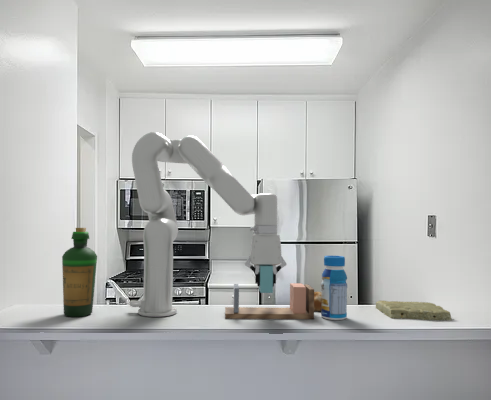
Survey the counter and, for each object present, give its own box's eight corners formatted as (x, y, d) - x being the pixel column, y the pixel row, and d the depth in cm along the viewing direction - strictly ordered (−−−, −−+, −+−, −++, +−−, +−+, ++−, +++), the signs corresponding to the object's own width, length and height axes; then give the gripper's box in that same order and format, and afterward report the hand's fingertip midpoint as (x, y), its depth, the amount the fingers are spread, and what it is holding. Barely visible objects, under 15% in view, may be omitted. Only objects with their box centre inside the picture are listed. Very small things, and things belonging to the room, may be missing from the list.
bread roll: (326, 323, 150) (336, 302, 150) (299, 308, 152) (309, 288, 152) (325, 316, 160) (335, 297, 160) (300, 303, 162) (310, 284, 161)
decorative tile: (375, 308, 160) (375, 299, 160) (430, 310, 159) (430, 300, 159) (390, 320, 141) (390, 309, 141) (453, 322, 141) (453, 311, 141)
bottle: (52, 317, 136) (55, 227, 137) (73, 310, 147) (76, 227, 148) (82, 319, 134) (85, 228, 135) (101, 312, 144) (104, 227, 145)
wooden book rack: (225, 318, 138) (225, 288, 139) (225, 311, 148) (225, 283, 149) (313, 319, 140) (314, 289, 140) (308, 312, 150) (308, 284, 150)
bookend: (233, 312, 139) (234, 288, 139) (233, 306, 148) (233, 283, 148) (238, 312, 139) (239, 288, 139) (237, 306, 148) (238, 283, 148)
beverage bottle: (341, 322, 136) (342, 258, 137) (316, 318, 141) (317, 256, 141) (350, 317, 143) (351, 256, 144) (326, 313, 148) (327, 254, 149)
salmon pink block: (293, 313, 140) (293, 287, 141) (289, 308, 148) (290, 283, 149) (305, 313, 141) (305, 287, 141) (301, 308, 149) (301, 283, 149)
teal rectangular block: (260, 292, 140) (260, 266, 140) (258, 288, 148) (258, 263, 148) (272, 292, 140) (272, 266, 141) (270, 288, 148) (270, 263, 149)
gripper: (241, 230, 141) (240, 287, 140) (292, 231, 142) (292, 287, 141) (240, 230, 148) (240, 284, 148) (289, 230, 149) (288, 284, 148)
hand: (265, 285), depth 144 cm, fingers closed on teal rectangular block, 4 cm apart
